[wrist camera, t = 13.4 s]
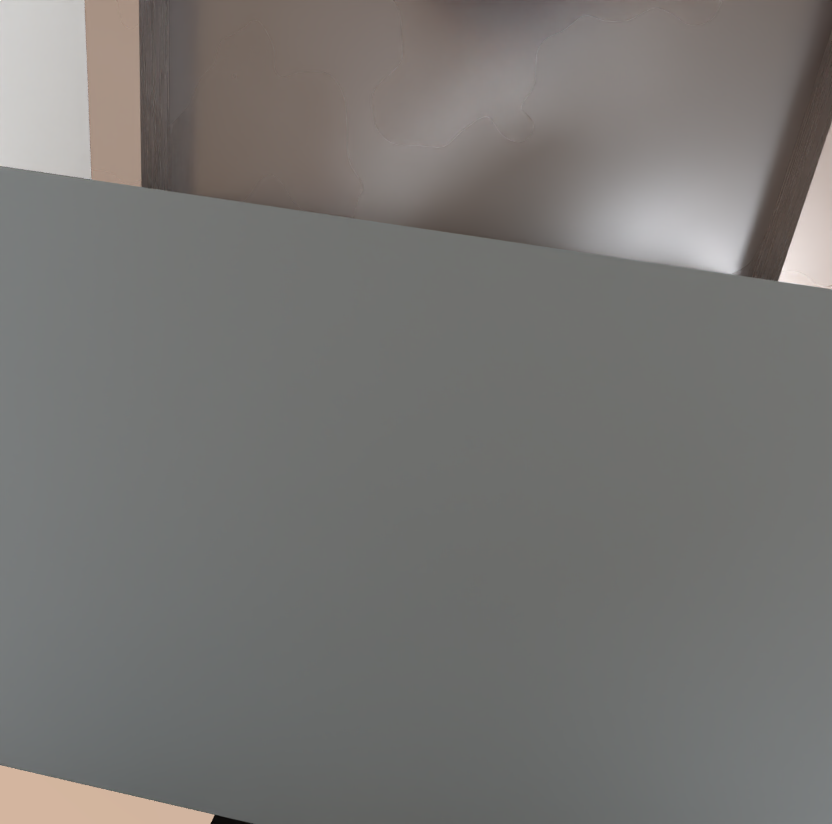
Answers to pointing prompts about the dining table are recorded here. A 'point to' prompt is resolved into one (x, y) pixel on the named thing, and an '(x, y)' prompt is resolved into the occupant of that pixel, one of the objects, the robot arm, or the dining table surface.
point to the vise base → (489, 119)
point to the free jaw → (406, 520)
